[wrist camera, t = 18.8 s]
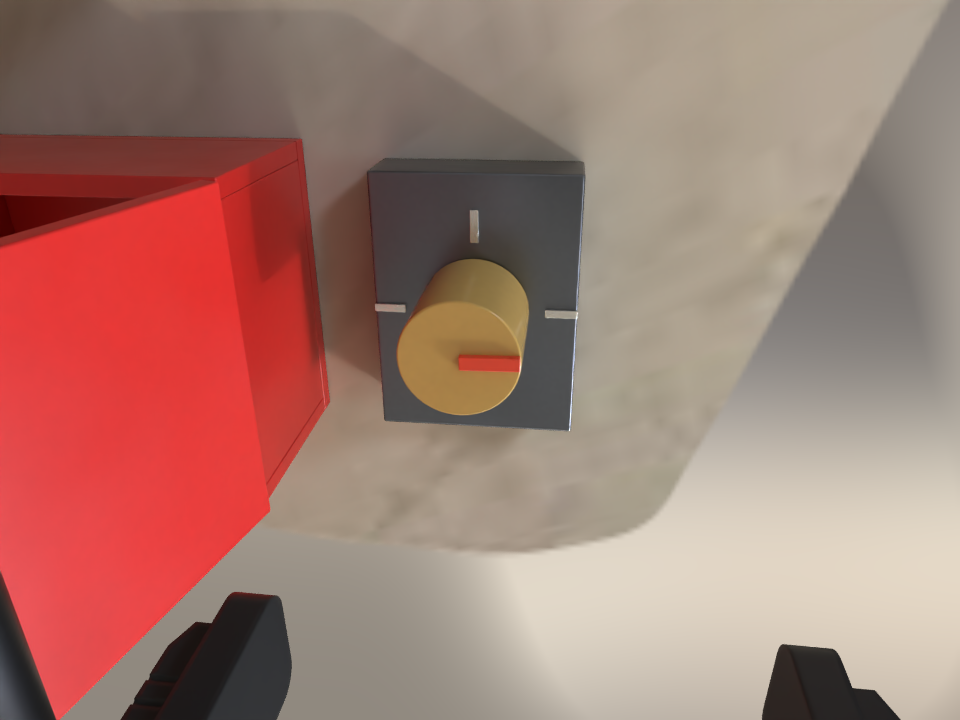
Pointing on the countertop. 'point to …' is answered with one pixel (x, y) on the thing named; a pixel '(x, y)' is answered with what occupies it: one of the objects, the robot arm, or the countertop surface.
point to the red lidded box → (251, 239)
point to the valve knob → (465, 338)
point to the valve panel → (492, 237)
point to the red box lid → (116, 435)
